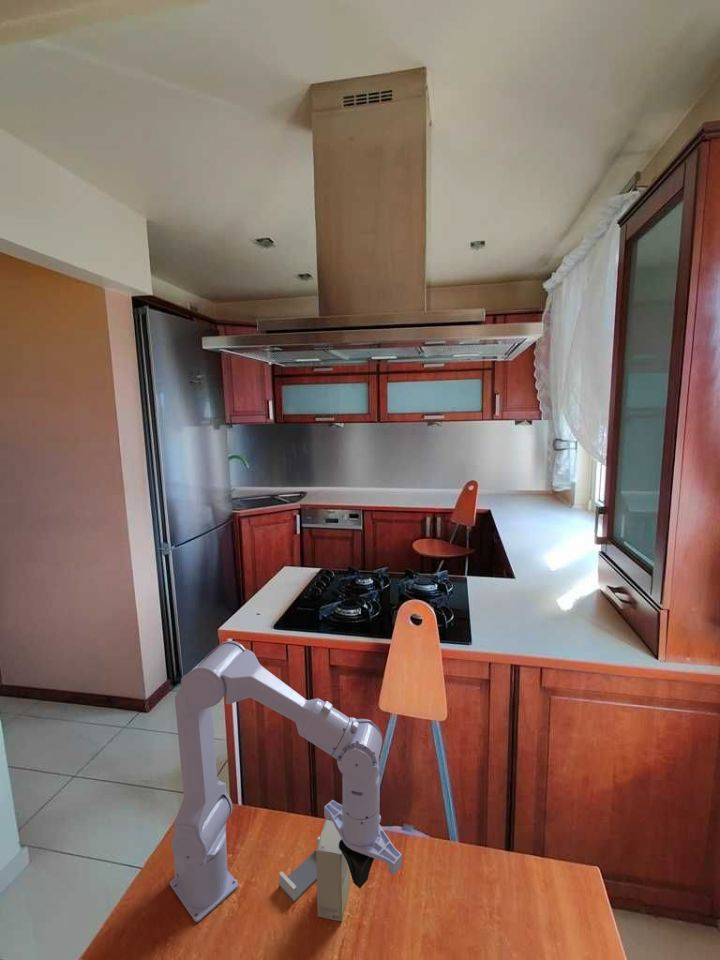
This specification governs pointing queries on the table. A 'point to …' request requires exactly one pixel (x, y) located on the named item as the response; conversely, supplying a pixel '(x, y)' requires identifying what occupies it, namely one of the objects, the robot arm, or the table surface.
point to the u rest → (299, 877)
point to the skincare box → (331, 874)
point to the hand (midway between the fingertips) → (360, 881)
